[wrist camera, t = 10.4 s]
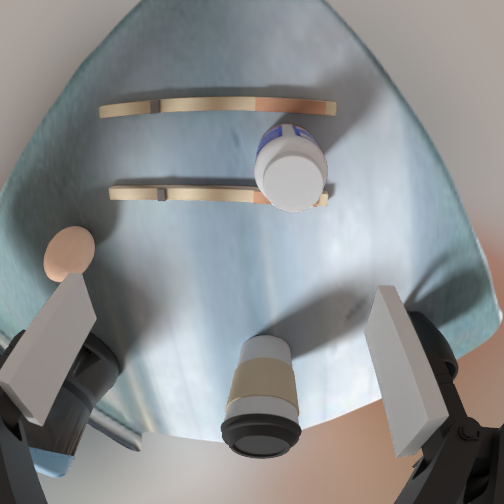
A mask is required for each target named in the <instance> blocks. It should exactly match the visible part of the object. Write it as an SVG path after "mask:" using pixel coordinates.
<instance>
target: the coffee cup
mask: <svg viewBox="0 0 504 504" xmlns="http://www.w3.org/2000/svg"><path fill="white" fill-rule="evenodd" d="M225 411H226V415H225V419H224V422H223V423H222V425H221V432H222V438H223V440H224V441H225V443H226V444H228V445H229V447H230V448H231V449H232V450H233V451H234V452H235V453H237V454H239V455H242V456H245V457H250V458H260V459H265V458H274V457H278V456H281V455H283V454H285V453H287V452H288V451H289V450H290V448H291V447H293V446H294V445H295V444H296V443H297V442H298V440H299V436H300V435H301V428H300V426H299V422H298V416H299V407H298V399H297V391H296V383H295V376H294V371H293V368H292V360H291V352H290V347H289V345H288V344H287V343H286V342H285V341H284V340H282V339H280V338H278V337H275V336H270V335H261V336H256V337H253V338H250V339H249V340H247V341H246V342H245V343H244V344H243V346H242V348H241V352H240V356H239V360H238V365H237V368H236V370H235V374H234V378H233V382H232V386H231V390H230V394H229V397H228V401H227V405H226V410H225Z"/></svg>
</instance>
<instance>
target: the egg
mask: <svg viewBox="0 0 504 504" xmlns="http://www.w3.org/2000/svg"><path fill="white" fill-rule="evenodd" d="M94 252H95V243H94V239H93V237H92V235H91V233H90V232H89V231H88V230H86V229H85V228H82V227H80V226H71V227H67V228H65V229H63V230H61V231H60V232H58V233H57V234H56V235H55V236H54V238H53V239H52V240H51V241H50V243H49V244H48V246H47V249H46V252H45V255H44V263H43V264H44V270H45V273H46V274H47V276H48V277H49V278H50V279H51V280H53V281H55V282H62V281H63V280H64V279H65V277H66V276H67V275H68V273H79V274H82V273H83V272H84V271H85V270H86V269H87V268H88V266H89V265H90V263H91V261H92V259H93V256H94Z"/></svg>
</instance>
